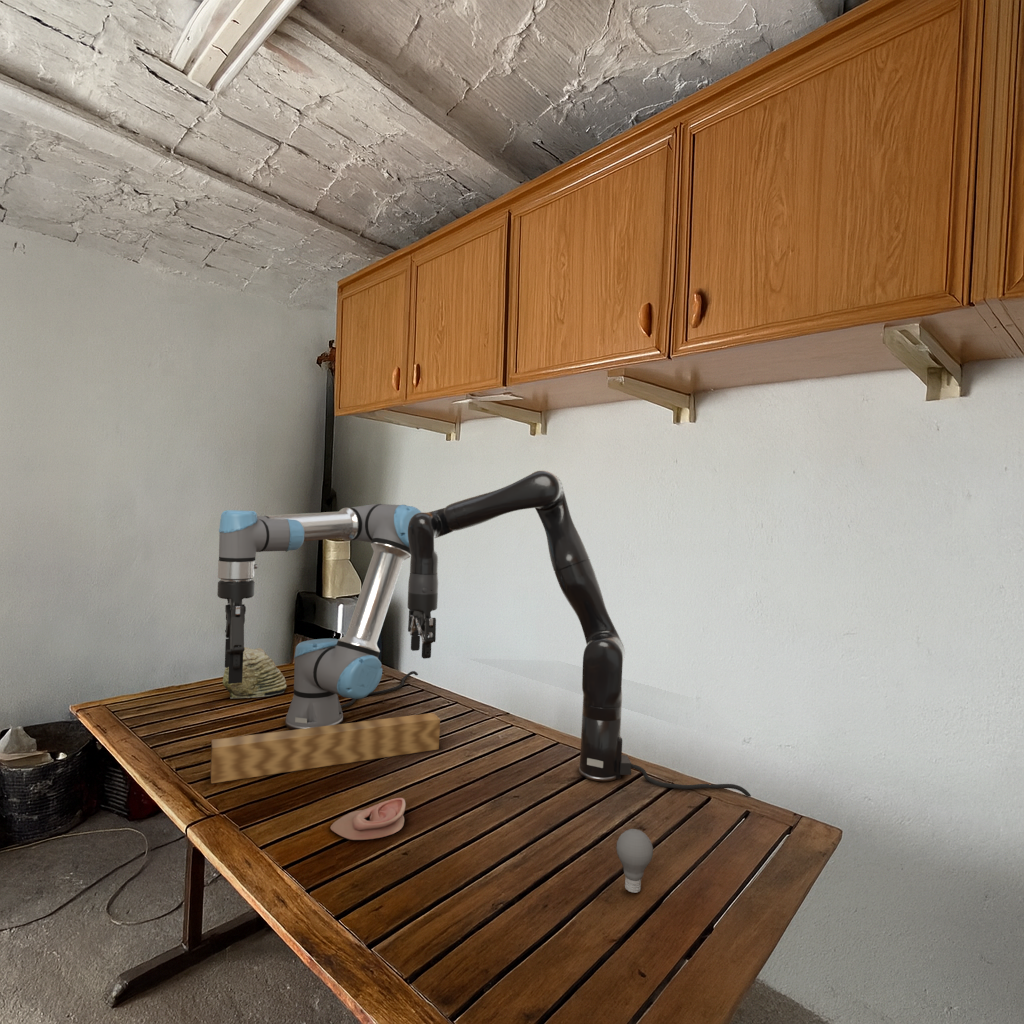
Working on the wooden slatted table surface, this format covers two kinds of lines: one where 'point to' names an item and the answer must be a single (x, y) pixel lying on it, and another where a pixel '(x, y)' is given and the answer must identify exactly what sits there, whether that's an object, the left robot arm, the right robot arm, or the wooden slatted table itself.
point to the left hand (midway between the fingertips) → (233, 674)
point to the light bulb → (634, 857)
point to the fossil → (256, 676)
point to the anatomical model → (372, 821)
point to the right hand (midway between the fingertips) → (420, 654)
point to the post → (321, 746)
